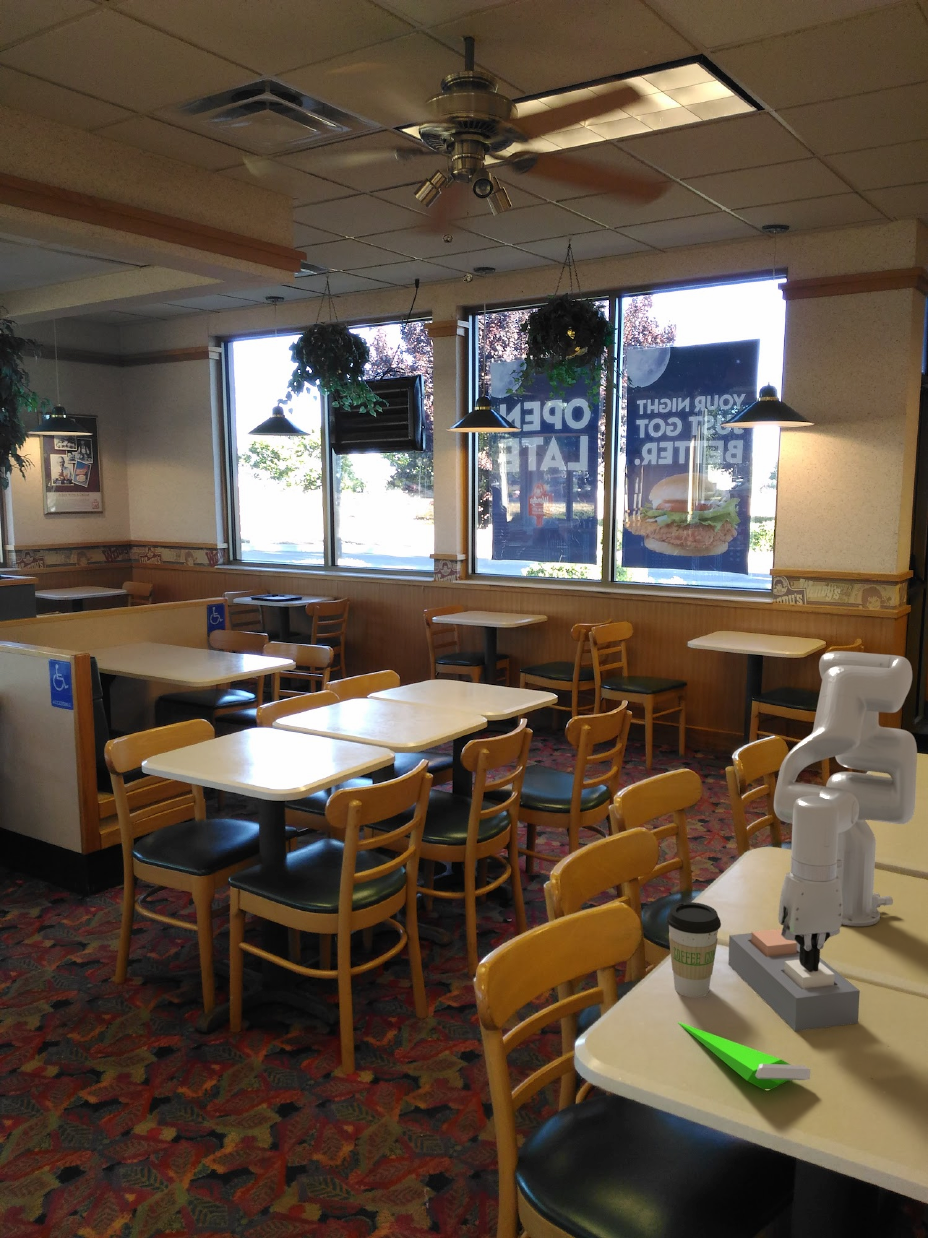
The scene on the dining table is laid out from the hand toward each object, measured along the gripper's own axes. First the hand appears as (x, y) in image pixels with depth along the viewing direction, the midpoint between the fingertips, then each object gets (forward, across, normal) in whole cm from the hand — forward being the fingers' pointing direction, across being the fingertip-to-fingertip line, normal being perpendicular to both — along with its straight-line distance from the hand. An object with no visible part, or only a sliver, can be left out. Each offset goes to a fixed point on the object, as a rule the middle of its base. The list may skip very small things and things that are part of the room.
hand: (809, 968), depth 169 cm
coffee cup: (+8, +17, -11) cm, 22 cm away
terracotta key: (+6, 0, -12) cm, 13 cm away
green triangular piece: (+8, +22, +12) cm, 26 cm away
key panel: (+8, 0, -6) cm, 10 cm away
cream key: (+6, 0, 0) cm, 6 cm away
